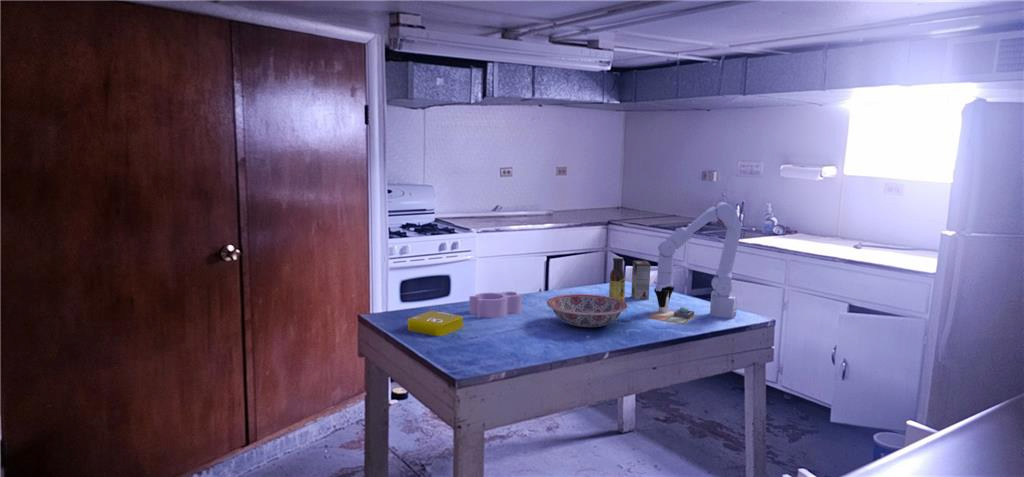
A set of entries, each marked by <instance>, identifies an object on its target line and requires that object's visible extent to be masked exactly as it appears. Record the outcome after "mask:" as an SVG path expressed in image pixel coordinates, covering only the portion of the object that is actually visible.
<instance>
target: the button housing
mask: <svg viewBox="0 0 1024 477" xmlns="http://www.w3.org/2000/svg"><path fill="white" fill-rule="evenodd" d="M694 315H695V310H690V309H689V312H688V314H687V313H681V312H680V308H678V309H676V310H675V311H674V316H675V317H682V318H688V319H690V318H691V317H692V316H694Z"/></svg>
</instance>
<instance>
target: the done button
mask: <svg viewBox="0 0 1024 477" xmlns="http://www.w3.org/2000/svg"><path fill="white" fill-rule="evenodd" d="M679 309H680V312H681V313H687V314H688V312H689V310H690V309H689V307H686V306H681V307H679Z"/></svg>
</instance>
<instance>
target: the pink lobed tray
mask: <svg viewBox="0 0 1024 477" xmlns="http://www.w3.org/2000/svg"><path fill="white" fill-rule="evenodd" d="M522 299H523V298H522V293H518V292H517V291H504V292H481V293H477V294H475V295H470V296H469V314H470V315H477V316H476V318H477V319H481V318H484V319H485V318H489V319H492V318H493V319H495V318H497V319H498V318H501V317H503V318H504V317H505V316H507V315H510V314H513V315H514V314H520V313H521V312H522V301H523V300H522Z"/></svg>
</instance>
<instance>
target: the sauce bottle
mask: <svg viewBox="0 0 1024 477" xmlns="http://www.w3.org/2000/svg"><path fill="white" fill-rule="evenodd" d="M612 262H613V265H612V267H613V269H612V270H611V271H610V275H609V292H608V293H609V294H608V295H609V296H608V297H611V298H615V299H618V300H621V301H623V302H625V295H626V294H625V293H626V292H625V291H626V275H625V271H624V267H623V264H624V263H623V262H624V257H622V256H614V257H612Z"/></svg>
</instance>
